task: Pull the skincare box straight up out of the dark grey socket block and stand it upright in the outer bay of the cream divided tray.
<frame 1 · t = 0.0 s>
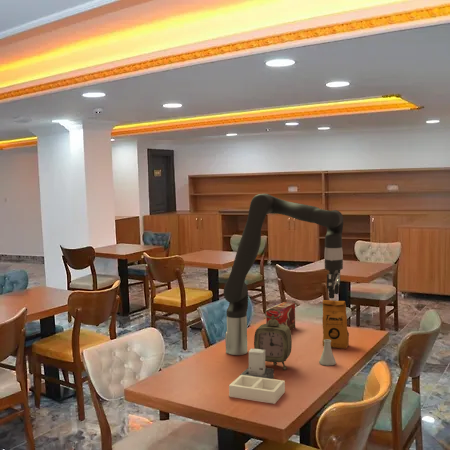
hand: (333, 296, 224), 29 cm above the table, tool pointing down, fingers open, 8 cm apart
ice cream box: (281, 332, 277), on the table
socket block: (257, 380, 210), on the table
cream divided tray: (257, 394, 197), on the table
coffee package: (335, 346, 251), on the table
tabletop clock: (274, 367, 225), on the table
skincare box: (257, 380, 210), resting in socket block
flask: (327, 363, 228), on the table
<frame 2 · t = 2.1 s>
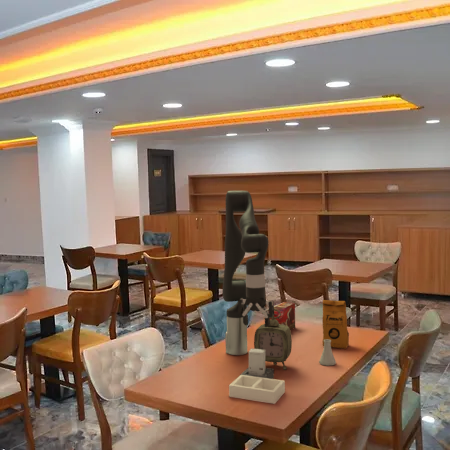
hand: (256, 326, 209), 22 cm above the table, tool pointing down, fingers open, 8 cm apart
nothing on the table moved.
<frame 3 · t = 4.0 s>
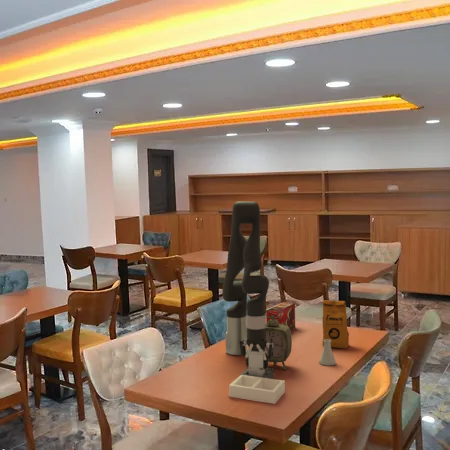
hand: (257, 367, 210), 5 cm above the table, tool pointing down, fingers closed on skincare box, 6 cm apart
skincare box: (257, 380, 211), resting in socket block, touching gripper
everything else where it was.
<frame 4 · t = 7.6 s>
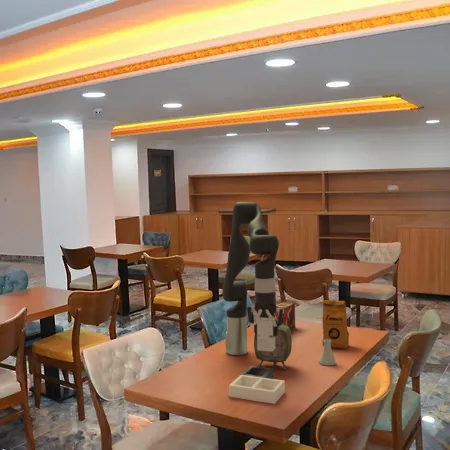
hand: (266, 335, 194), 22 cm above the table, tool pointing down, fingers closed on skincare box, 6 cm apart
skincare box: (266, 349, 194), point 17 cm above the table, touching gripper
everything else where it was.
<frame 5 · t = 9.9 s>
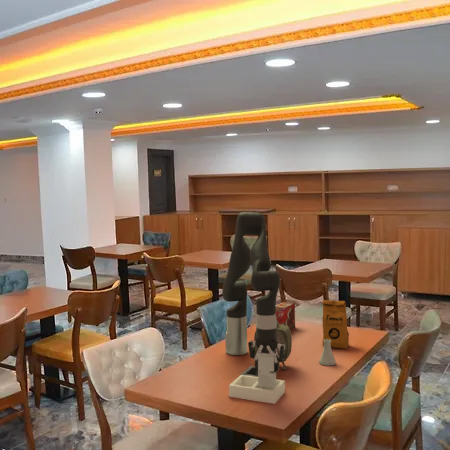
hand: (267, 370, 194), 9 cm above the table, tool pointing down, fingers closed on skincare box, 6 cm apart
skincare box: (267, 385, 195), point 4 cm above the table, touching gripper
everything else where it was.
when the fingers open (7 cm above the table, at t = 11.5 s): skincare box stays where it is, resting on cream divided tray.
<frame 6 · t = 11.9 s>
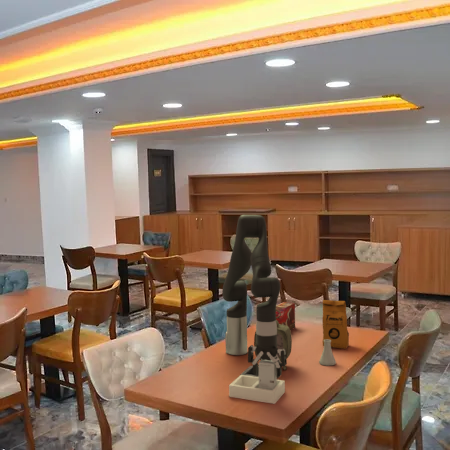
hand: (267, 375, 194), 8 cm above the table, tool pointing down, fingers open, 8 cm apart
skincare box: (268, 394, 195), point 1 cm above the table, touching cream divided tray
everything else where it was.
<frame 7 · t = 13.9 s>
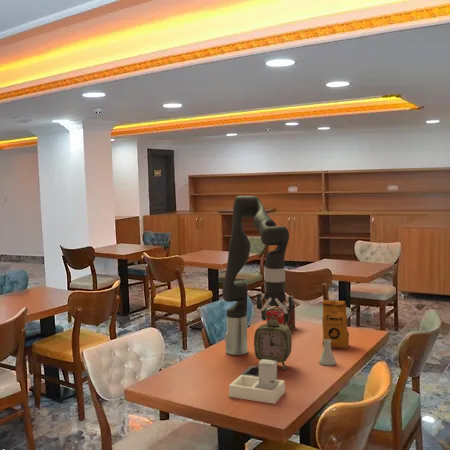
hand: (275, 321, 201), 25 cm above the table, tool pointing down, fingers open, 8 cm apart
nothing on the table moved.
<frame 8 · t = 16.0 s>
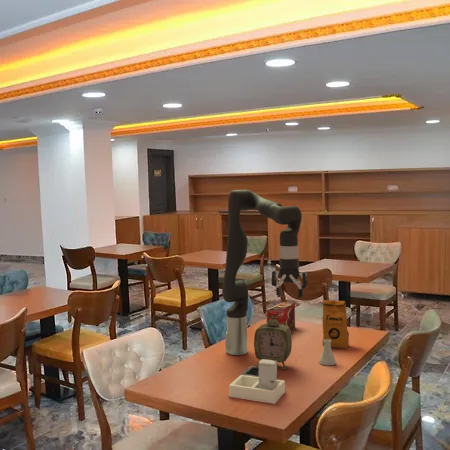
hand: (289, 297, 211), 32 cm above the table, tool pointing down, fingers open, 8 cm apart
nothing on the table moved.
at the end: skincare box 0.1 cm from the target spot on the cream divided tray, point 0.6 cm above the cream divided tray's base; skincare box tilted 0°; the gripper is holding nothing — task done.
